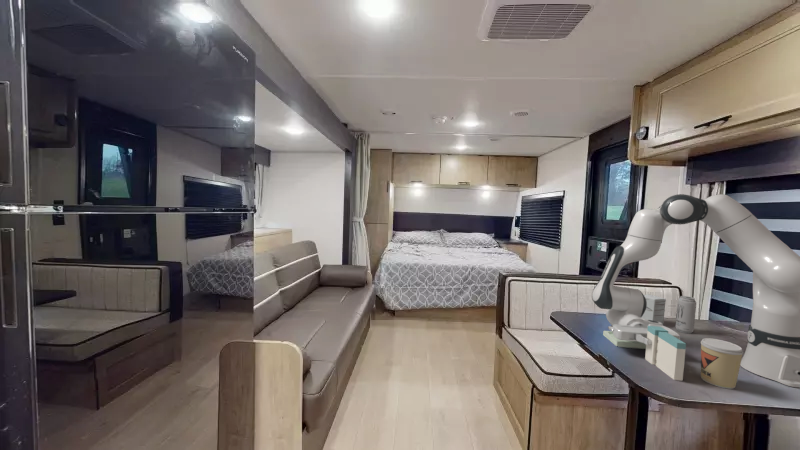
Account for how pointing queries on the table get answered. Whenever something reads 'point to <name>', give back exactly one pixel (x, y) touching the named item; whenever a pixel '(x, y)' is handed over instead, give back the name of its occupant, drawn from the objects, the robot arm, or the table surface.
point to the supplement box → (654, 308)
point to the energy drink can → (686, 314)
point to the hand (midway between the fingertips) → (658, 343)
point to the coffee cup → (720, 362)
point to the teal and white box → (670, 355)
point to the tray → (623, 341)
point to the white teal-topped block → (653, 343)
